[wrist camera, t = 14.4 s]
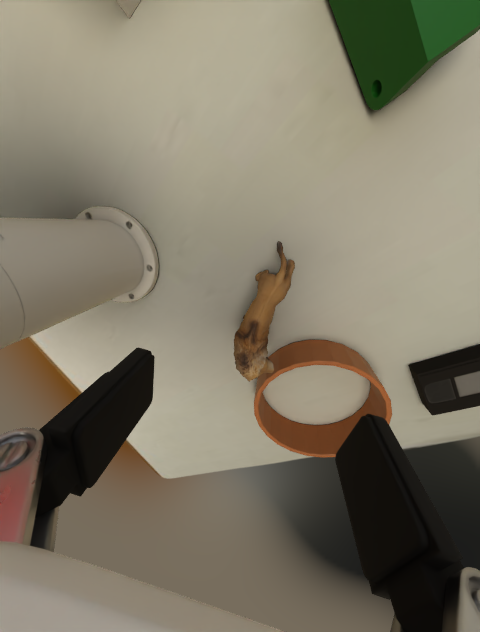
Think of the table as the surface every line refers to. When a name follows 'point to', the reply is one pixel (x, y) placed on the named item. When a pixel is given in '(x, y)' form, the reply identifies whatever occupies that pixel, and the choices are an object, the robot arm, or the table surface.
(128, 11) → the red-lidded white box
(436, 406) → the vhs tape
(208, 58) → the table surface
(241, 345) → the lion figurine
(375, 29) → the green bracket
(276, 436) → the basin
